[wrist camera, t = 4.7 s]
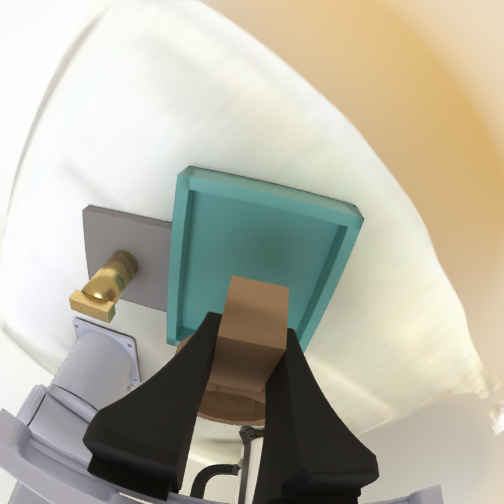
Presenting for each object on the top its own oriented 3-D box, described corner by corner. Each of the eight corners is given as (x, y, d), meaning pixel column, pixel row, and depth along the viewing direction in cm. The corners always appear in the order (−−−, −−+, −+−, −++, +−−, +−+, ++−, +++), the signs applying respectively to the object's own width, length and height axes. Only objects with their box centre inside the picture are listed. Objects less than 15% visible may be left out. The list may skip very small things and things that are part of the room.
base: (171, 305, 24) (168, 312, 24) (95, 283, 24) (90, 289, 23) (177, 224, 21) (173, 229, 20) (89, 205, 20) (82, 209, 19)
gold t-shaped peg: (142, 281, 22) (110, 330, 17) (109, 271, 22) (73, 316, 17) (142, 255, 21) (106, 303, 16) (107, 246, 21) (67, 289, 16)
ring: (275, 393, 19) (271, 430, 17) (179, 373, 19) (169, 410, 16) (339, 298, 12) (345, 358, 10) (178, 262, 12) (153, 318, 9)
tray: (293, 351, 26) (294, 370, 24) (174, 325, 26) (166, 343, 24) (355, 205, 19) (364, 218, 17) (189, 165, 18) (177, 174, 16)
